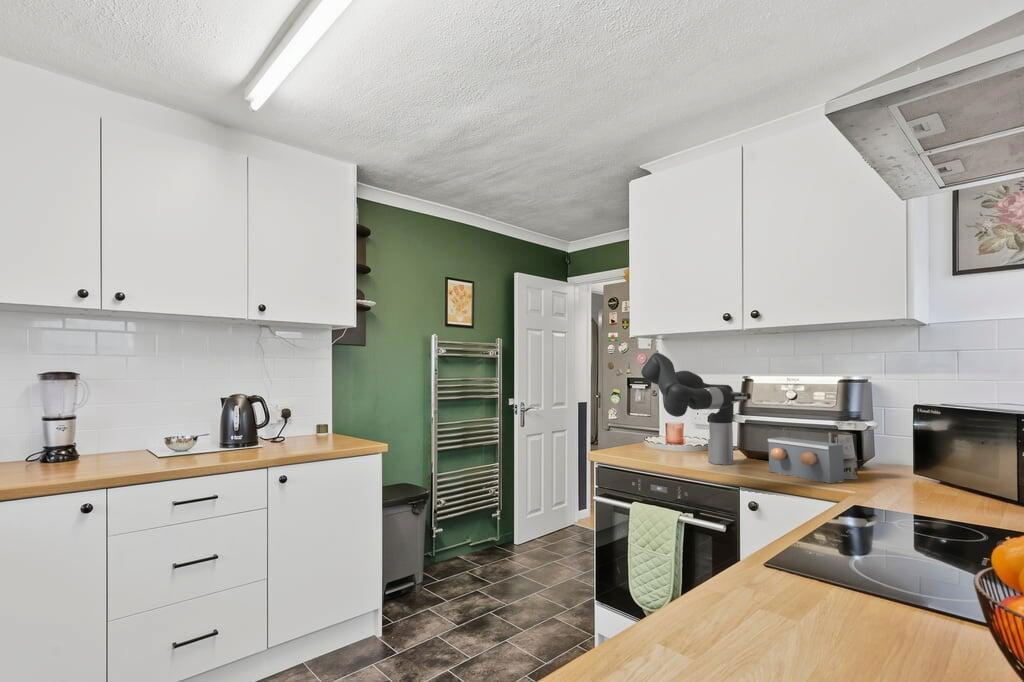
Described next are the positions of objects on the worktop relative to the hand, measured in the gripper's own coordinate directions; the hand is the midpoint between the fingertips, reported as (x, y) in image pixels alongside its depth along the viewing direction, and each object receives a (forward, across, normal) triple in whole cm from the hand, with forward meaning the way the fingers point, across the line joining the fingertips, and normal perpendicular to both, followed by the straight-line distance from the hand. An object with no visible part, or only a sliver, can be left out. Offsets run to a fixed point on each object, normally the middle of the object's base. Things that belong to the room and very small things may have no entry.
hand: (748, 396), depth 193 cm
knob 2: (+23, -9, +25) cm, 35 cm away
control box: (+25, -3, +31) cm, 39 cm away
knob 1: (+23, +3, +25) cm, 34 cm away
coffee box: (+37, -10, +31) cm, 49 cm away
